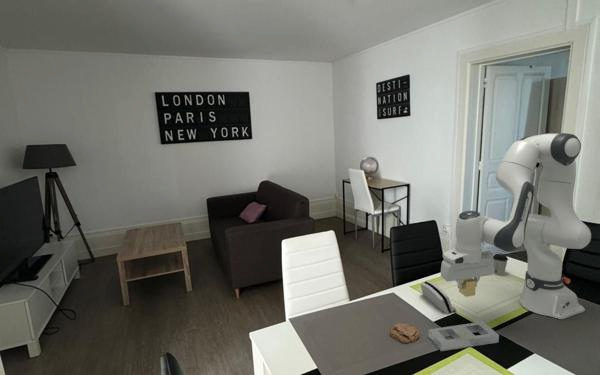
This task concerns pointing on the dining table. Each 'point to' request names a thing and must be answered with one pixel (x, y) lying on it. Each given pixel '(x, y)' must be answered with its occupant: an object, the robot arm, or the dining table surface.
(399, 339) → the cookie
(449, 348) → the grey shape sorter tray
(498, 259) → the coffee cup
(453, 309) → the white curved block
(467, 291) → the wood grain block
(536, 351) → the dining table surface
